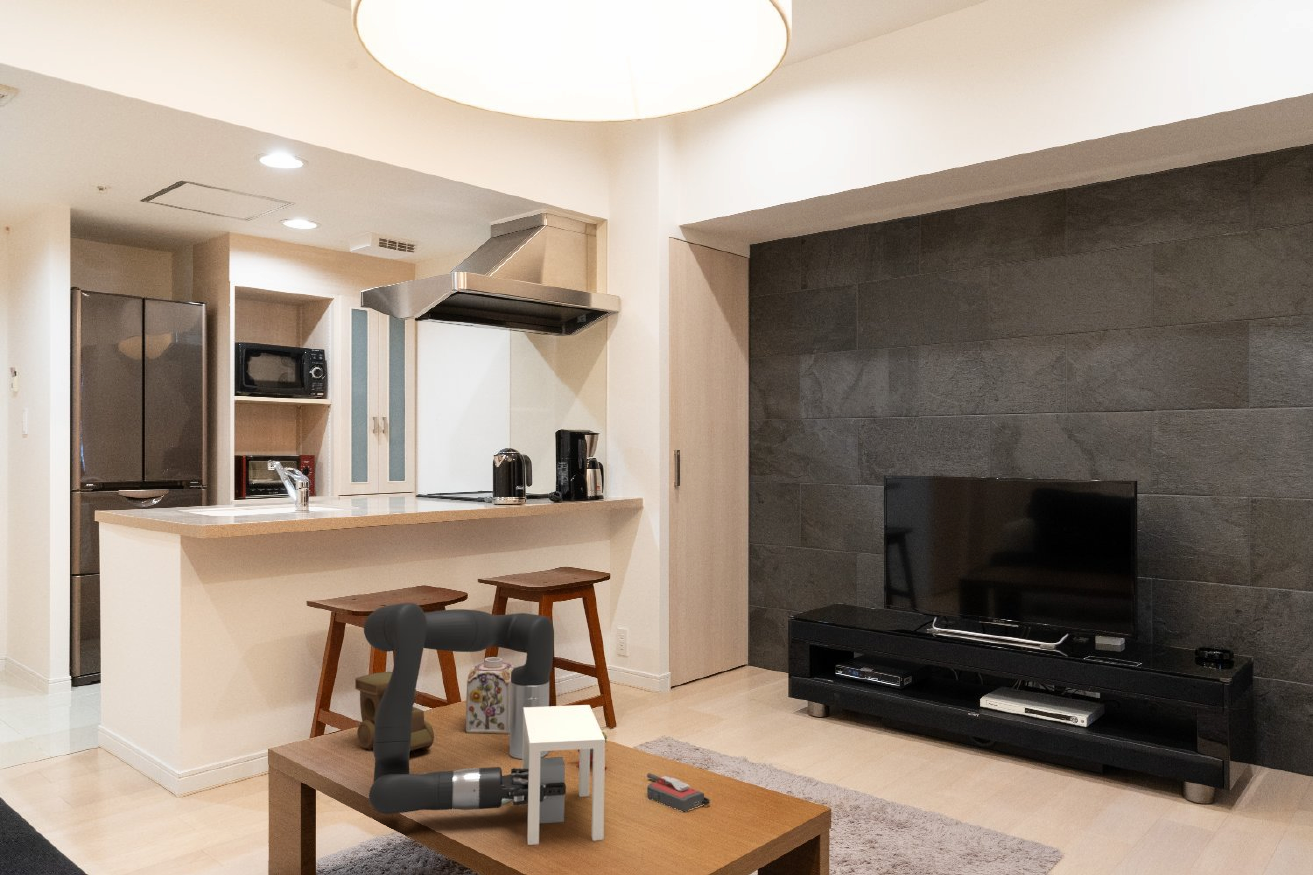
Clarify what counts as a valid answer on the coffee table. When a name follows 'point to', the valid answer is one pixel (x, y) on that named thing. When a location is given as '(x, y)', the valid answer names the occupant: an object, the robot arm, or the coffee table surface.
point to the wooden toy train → (369, 702)
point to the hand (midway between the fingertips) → (563, 783)
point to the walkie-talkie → (674, 793)
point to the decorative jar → (489, 697)
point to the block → (552, 805)
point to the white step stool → (564, 733)
